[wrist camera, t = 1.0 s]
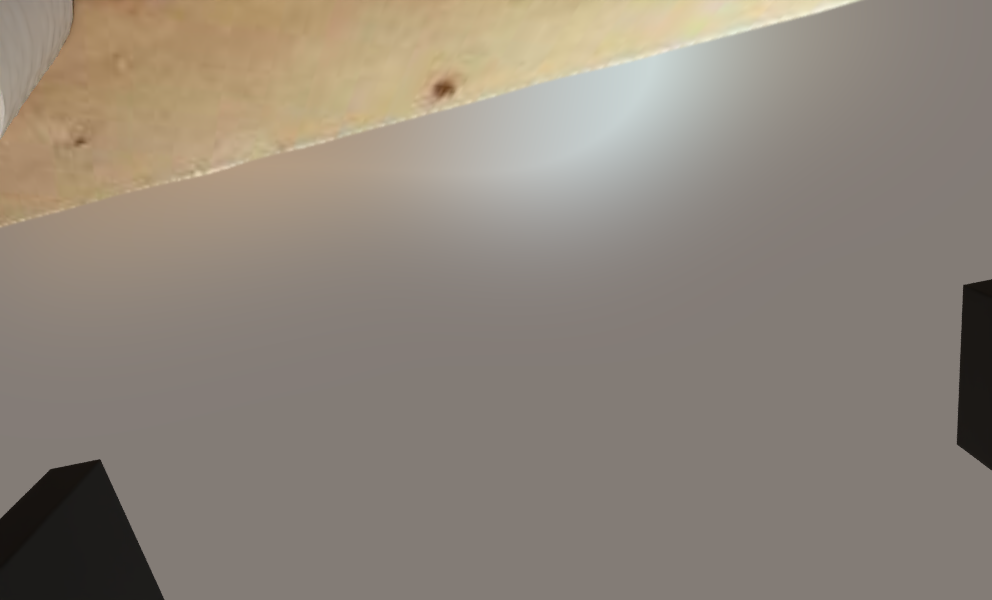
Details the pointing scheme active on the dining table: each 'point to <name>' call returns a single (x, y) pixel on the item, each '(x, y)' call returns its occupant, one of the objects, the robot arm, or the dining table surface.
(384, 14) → the dining table surface
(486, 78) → the dining table surface
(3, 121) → the toilet tissue
